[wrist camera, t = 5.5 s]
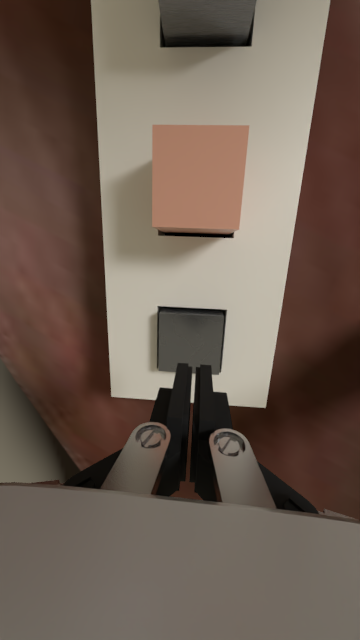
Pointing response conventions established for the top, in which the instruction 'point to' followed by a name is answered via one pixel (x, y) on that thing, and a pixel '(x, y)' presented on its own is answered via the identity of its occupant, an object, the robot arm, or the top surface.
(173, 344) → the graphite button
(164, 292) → the panel
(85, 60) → the top surface
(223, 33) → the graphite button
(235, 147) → the terracotta button
